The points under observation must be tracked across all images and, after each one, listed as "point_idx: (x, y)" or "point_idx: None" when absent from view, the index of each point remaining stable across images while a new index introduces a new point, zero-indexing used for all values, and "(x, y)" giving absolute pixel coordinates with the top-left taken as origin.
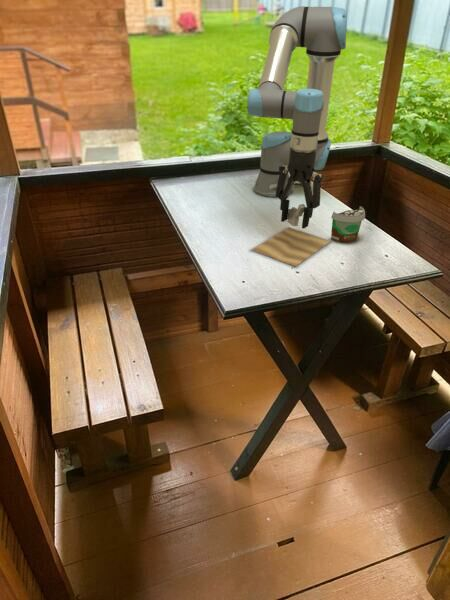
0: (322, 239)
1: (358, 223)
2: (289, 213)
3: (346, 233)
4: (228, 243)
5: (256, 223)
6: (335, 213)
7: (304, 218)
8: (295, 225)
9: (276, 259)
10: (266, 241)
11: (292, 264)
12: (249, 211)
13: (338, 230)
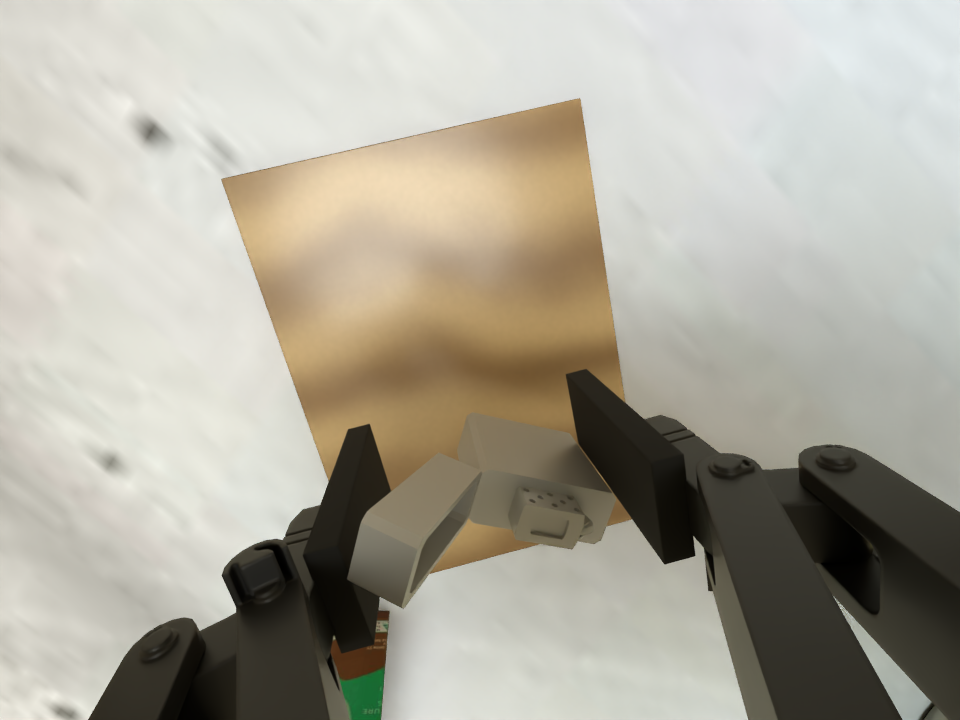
0: None
1: None
2: (577, 470)
3: None
4: (759, 32)
5: (816, 401)
6: None
7: (337, 476)
8: (463, 430)
9: (375, 145)
10: (601, 272)
11: (249, 178)
12: (945, 473)
13: None
